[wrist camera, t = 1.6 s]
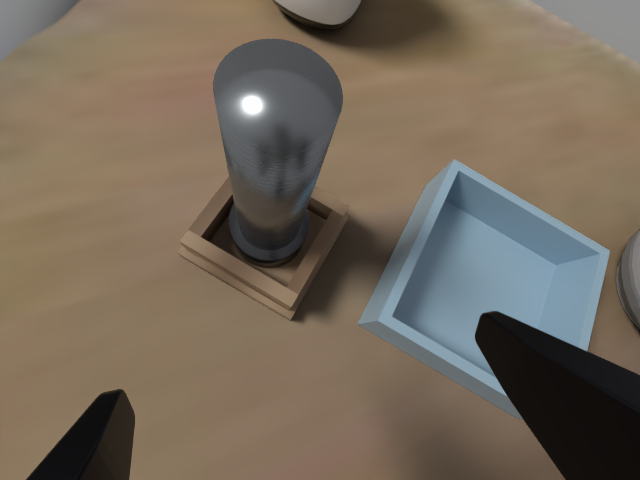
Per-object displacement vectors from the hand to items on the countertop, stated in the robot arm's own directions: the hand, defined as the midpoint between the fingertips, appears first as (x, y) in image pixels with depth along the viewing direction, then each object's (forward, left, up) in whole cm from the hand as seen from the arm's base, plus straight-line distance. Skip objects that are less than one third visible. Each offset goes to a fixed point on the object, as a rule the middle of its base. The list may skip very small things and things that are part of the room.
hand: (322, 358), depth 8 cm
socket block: (+5, -6, -13) cm, 15 cm away
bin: (-9, -10, -13) cm, 19 cm away
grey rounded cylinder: (+5, -6, -12) cm, 14 cm away
